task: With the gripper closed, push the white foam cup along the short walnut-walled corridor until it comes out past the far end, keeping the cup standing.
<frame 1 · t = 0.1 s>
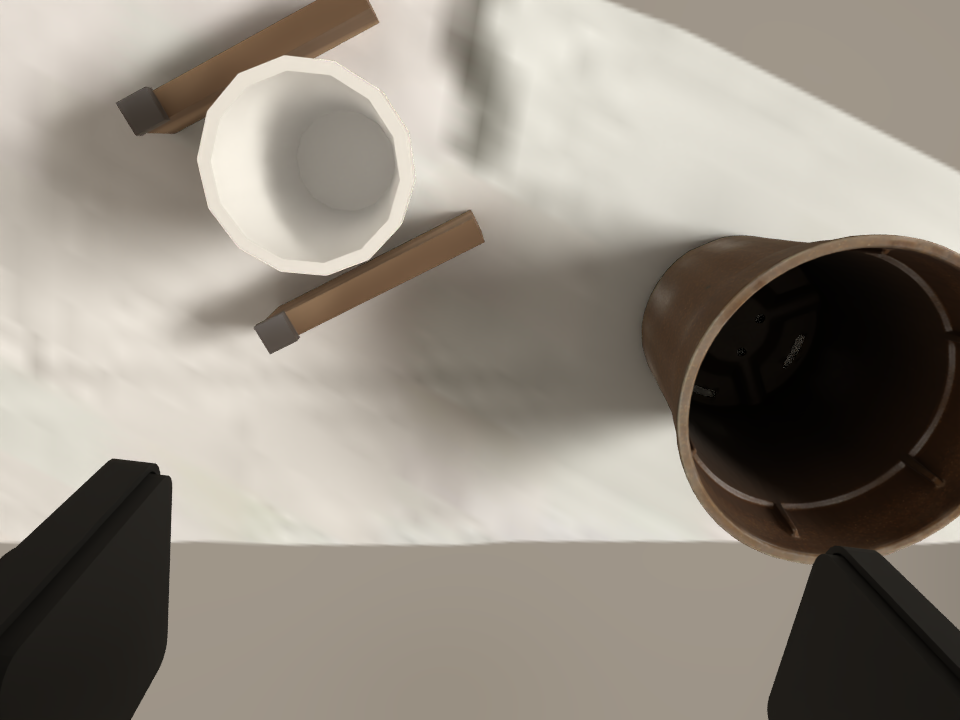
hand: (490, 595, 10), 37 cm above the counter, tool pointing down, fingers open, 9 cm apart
plant pot: (725, 324, 48), on the counter
foam cup: (348, 161, 44), on the counter
corridor: (326, 172, 44), on the counter
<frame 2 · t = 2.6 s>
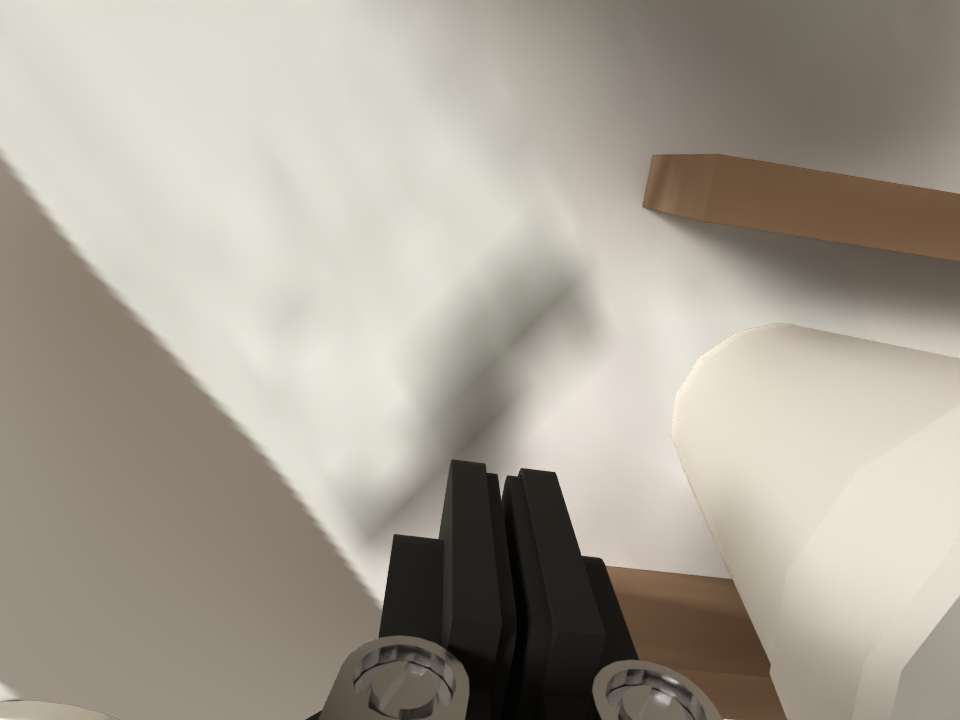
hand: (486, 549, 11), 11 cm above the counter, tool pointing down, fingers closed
foam cup: (763, 415, 23), on the counter
corridor: (809, 423, 23), on the counter
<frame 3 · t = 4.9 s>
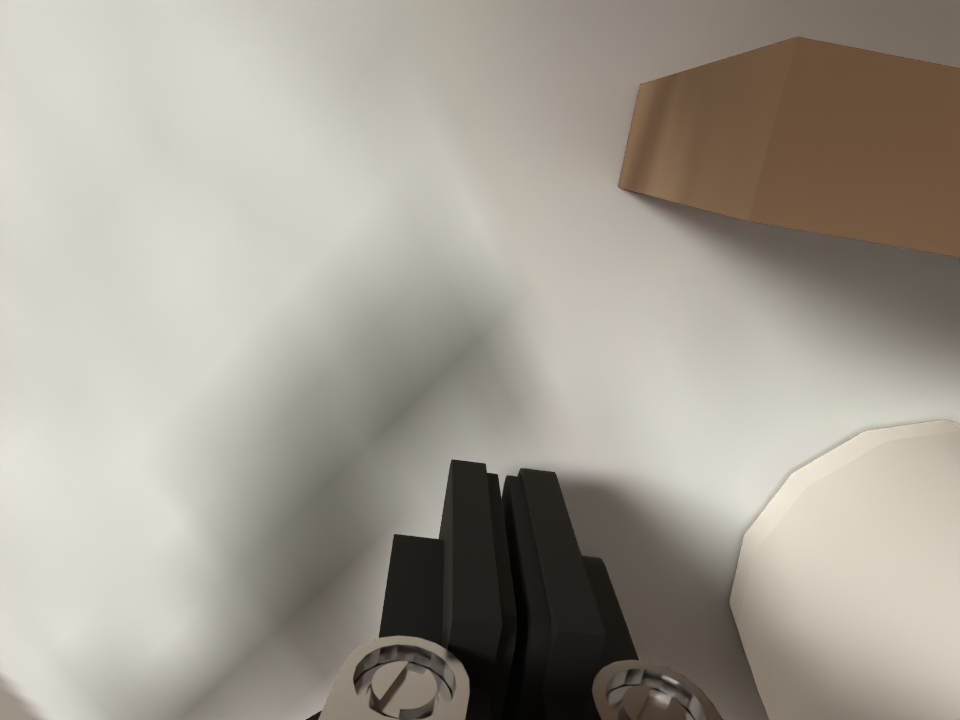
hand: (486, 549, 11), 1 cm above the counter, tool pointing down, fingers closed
foam cup: (891, 571, 13), on the counter, touching gripper
corridor: (911, 575, 13), on the counter
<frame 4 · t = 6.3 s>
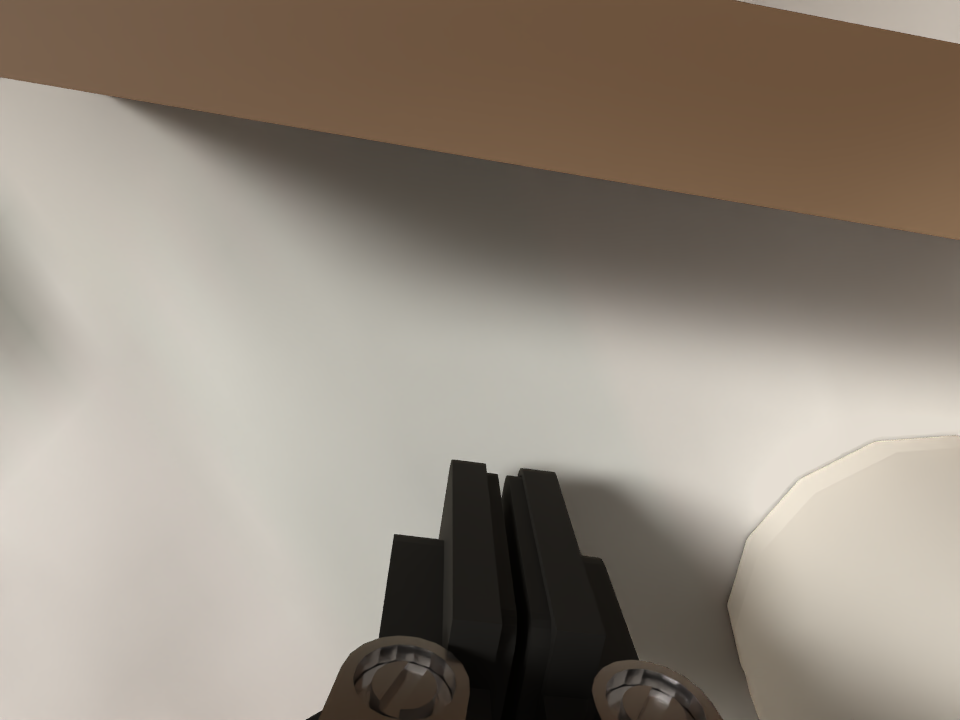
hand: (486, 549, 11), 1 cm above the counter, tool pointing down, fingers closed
foam cup: (890, 585, 13), on the counter, touching gripper
corridor: (497, 516, 12), on the counter
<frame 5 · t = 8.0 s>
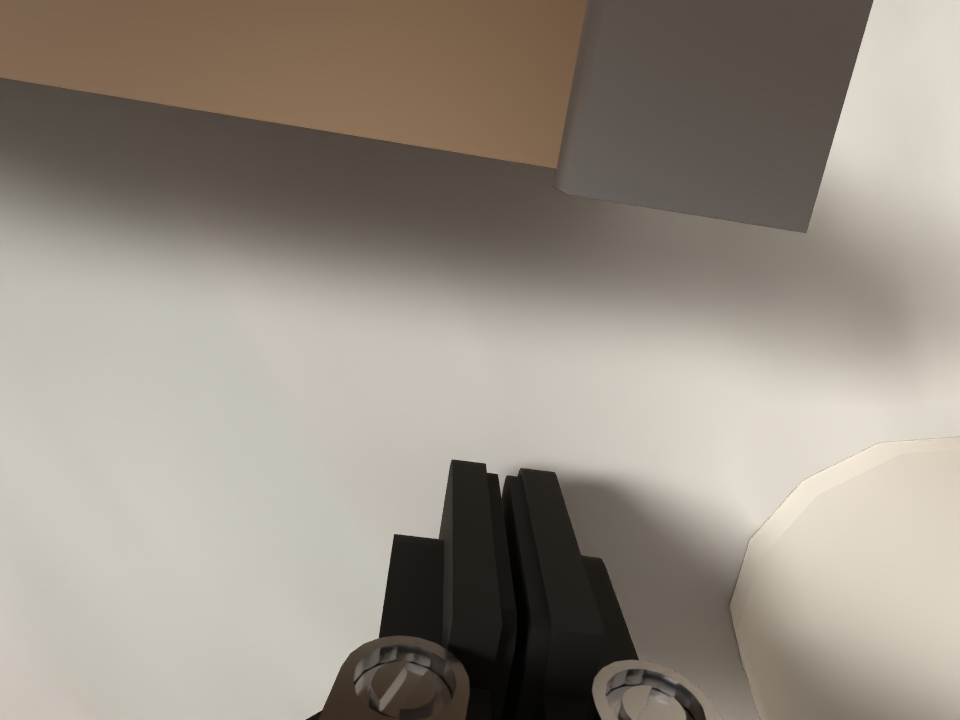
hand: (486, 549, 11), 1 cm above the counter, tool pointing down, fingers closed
foam cup: (893, 587, 13), on the counter, touching gripper
corridor: (144, 473, 12), on the counter
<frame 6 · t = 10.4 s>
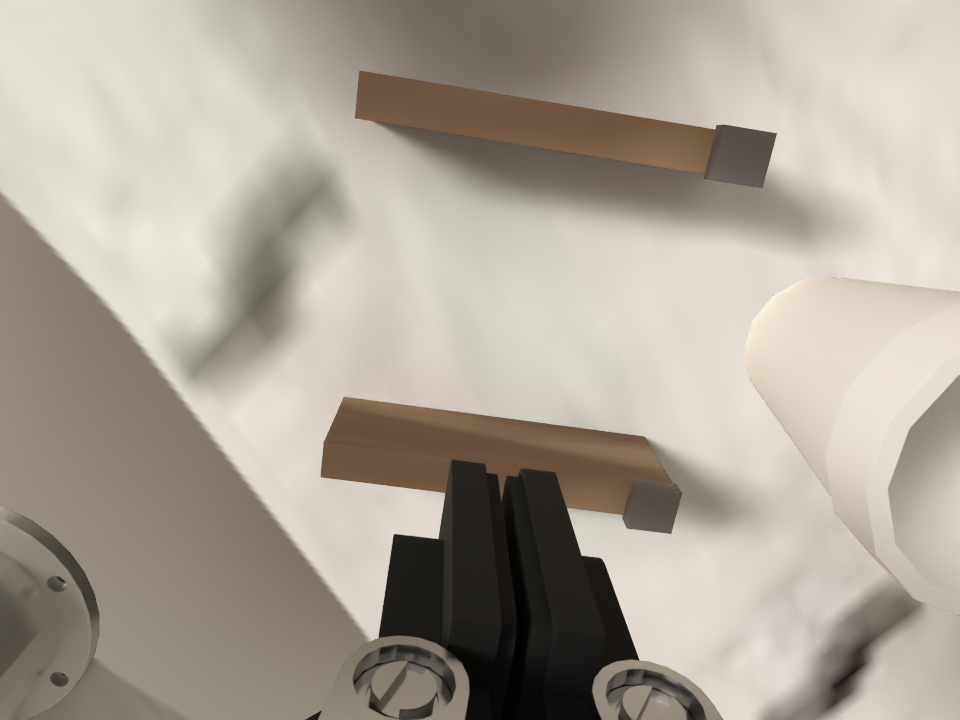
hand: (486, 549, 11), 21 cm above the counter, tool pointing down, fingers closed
foam cup: (811, 344, 32), on the counter
corridor: (518, 290, 31), on the counter
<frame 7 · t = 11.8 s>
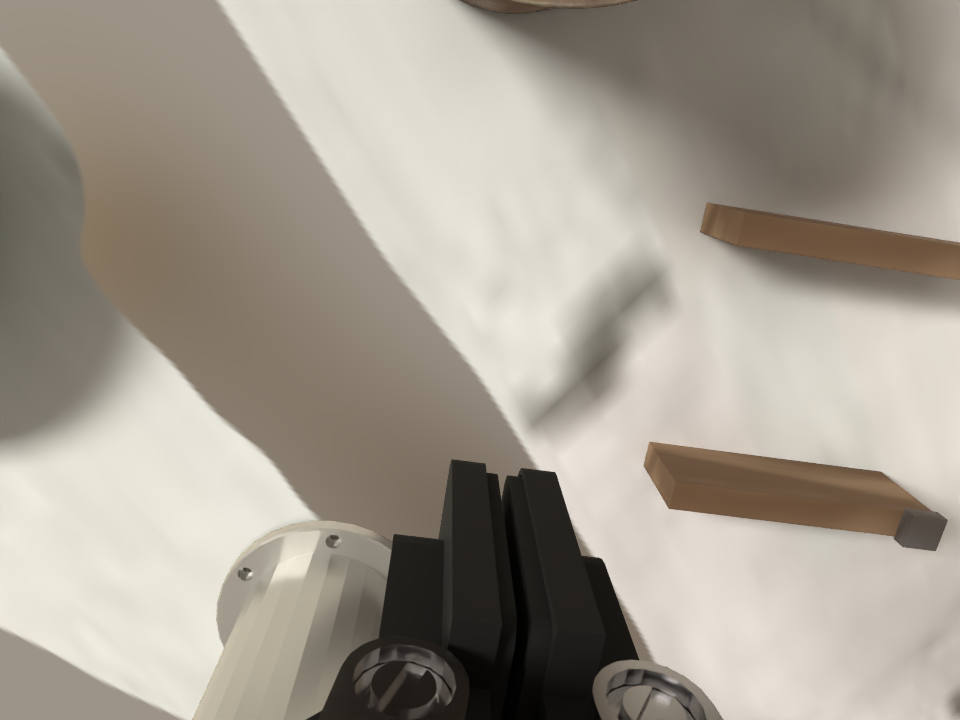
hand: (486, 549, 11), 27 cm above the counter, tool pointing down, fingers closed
corridor: (795, 358, 39), on the counter
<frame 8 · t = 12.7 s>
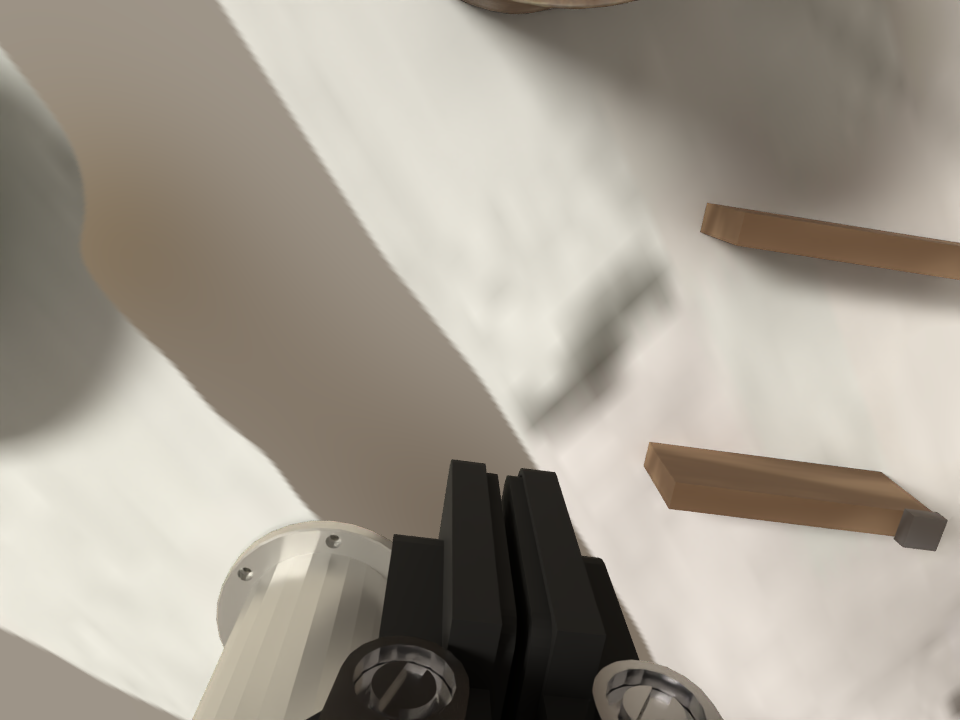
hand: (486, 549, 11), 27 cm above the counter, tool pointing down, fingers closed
corridor: (795, 358, 39), on the counter
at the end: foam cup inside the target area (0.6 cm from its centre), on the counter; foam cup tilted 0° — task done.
